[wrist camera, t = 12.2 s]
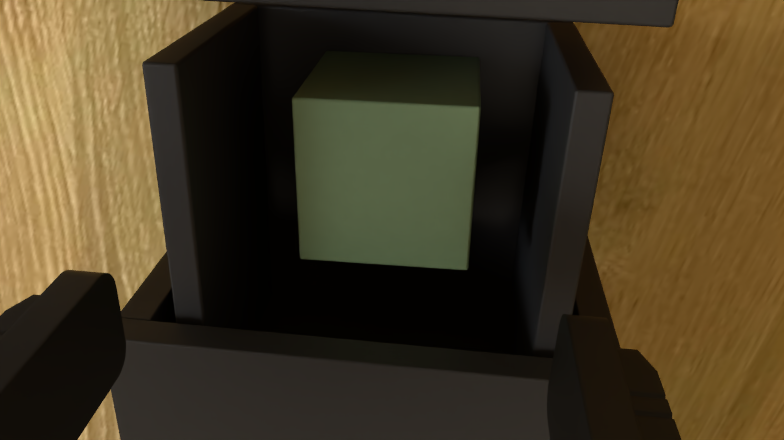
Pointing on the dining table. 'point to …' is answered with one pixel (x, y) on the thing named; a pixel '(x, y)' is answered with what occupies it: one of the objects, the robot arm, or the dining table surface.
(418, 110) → the block
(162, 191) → the drawer
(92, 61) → the dining table surface
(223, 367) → the cabinet
